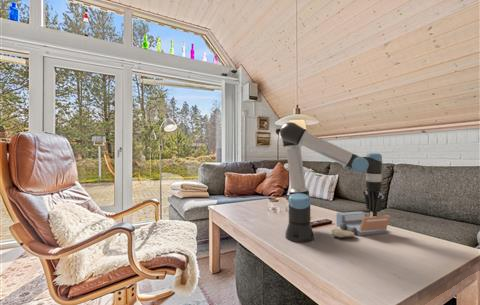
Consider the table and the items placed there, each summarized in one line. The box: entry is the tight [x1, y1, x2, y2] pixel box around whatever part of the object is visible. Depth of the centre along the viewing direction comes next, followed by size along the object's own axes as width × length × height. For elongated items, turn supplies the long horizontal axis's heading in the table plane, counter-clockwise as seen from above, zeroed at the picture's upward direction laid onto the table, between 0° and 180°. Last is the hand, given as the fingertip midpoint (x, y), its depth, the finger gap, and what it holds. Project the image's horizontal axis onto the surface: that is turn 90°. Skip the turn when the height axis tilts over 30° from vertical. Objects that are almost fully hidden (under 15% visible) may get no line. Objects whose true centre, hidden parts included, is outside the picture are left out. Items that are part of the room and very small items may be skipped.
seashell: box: [331, 228, 355, 239], centre depth 127 cm, size 12×12×3 cm
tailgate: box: [360, 214, 391, 231], centre depth 128 cm, size 17×1×8 cm, turn 103°
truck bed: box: [336, 211, 387, 236], centre depth 138 cm, size 22×20×8 cm
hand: (373, 223), depth 129 cm, fingers closed
